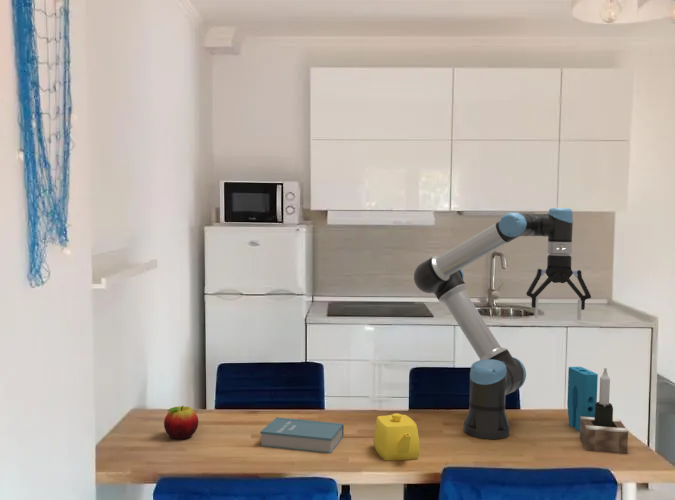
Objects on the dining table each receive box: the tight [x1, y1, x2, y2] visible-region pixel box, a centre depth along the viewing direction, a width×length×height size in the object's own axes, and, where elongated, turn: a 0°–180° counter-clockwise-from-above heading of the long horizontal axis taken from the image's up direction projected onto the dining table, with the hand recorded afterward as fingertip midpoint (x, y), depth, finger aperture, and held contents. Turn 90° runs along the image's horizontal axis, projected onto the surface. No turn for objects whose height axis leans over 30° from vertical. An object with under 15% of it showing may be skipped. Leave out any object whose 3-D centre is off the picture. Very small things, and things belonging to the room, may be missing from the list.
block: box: [566, 366, 599, 433], centre depth 224 cm, size 12×5×20 cm, turn 8°
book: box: [259, 417, 345, 454], centre depth 206 cm, size 23×16×5 cm
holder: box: [579, 416, 629, 454], centre depth 207 cm, size 12×12×7 cm
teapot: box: [373, 412, 421, 462], centre depth 196 cm, size 20×12×12 cm, turn 12°
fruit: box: [163, 405, 199, 440], centre depth 208 cm, size 11×11×10 cm
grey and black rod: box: [594, 367, 614, 427], centre depth 207 cm, size 5×5×25 cm
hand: (557, 318), depth 216 cm, fingers open, 13 cm apart
